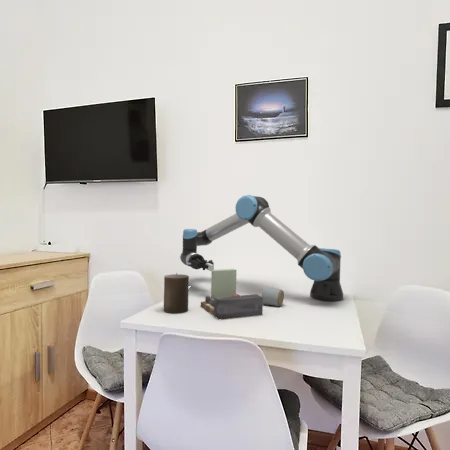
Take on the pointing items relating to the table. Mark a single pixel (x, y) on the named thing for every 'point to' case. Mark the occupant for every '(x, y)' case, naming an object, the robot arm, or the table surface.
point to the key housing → (234, 306)
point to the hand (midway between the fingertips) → (212, 268)
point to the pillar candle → (176, 293)
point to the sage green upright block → (223, 283)
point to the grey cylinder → (272, 296)
